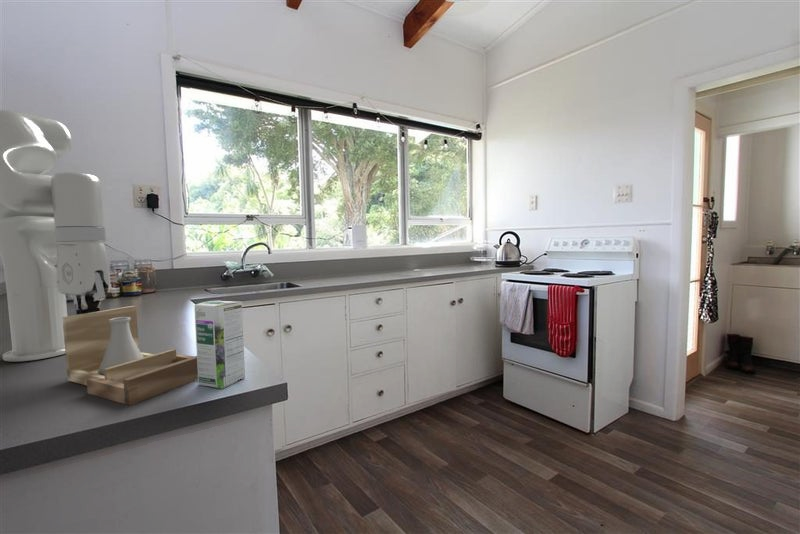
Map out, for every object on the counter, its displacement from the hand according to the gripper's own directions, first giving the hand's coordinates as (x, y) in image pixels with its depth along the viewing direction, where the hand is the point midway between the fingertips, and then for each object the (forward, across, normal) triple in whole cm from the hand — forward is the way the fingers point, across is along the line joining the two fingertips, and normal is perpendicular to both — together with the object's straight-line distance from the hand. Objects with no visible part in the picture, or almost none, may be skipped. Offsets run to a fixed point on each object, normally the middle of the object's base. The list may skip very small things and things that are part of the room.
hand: (89, 327), depth 74 cm
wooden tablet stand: (+8, +11, 0) cm, 14 cm away
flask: (+8, +10, 0) cm, 13 cm away
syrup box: (+9, +31, +5) cm, 33 cm away
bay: (+8, +20, 0) cm, 22 cm away
